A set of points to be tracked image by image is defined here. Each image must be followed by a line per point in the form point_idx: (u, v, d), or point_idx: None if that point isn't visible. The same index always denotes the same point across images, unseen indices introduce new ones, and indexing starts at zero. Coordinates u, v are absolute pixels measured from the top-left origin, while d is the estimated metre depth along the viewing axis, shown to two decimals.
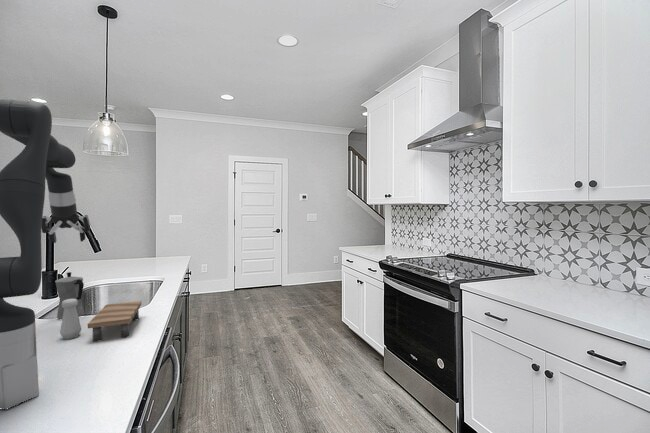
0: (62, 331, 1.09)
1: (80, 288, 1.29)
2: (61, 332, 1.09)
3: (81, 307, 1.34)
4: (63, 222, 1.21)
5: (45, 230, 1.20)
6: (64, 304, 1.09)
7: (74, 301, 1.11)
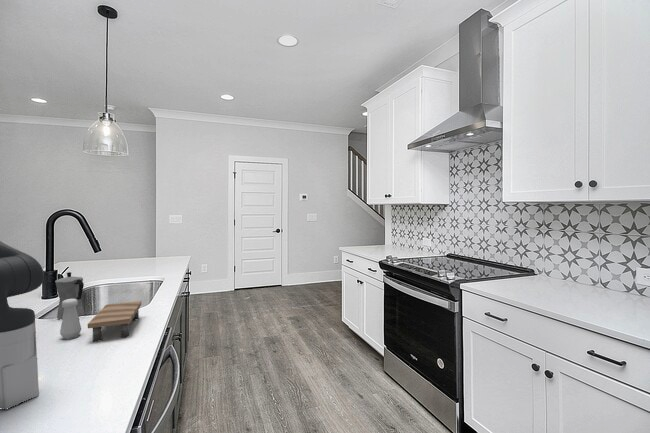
0: (62, 331, 1.09)
1: (80, 288, 1.29)
2: (61, 332, 1.09)
3: (81, 307, 1.34)
4: None
5: None
6: (64, 304, 1.09)
7: (74, 301, 1.11)
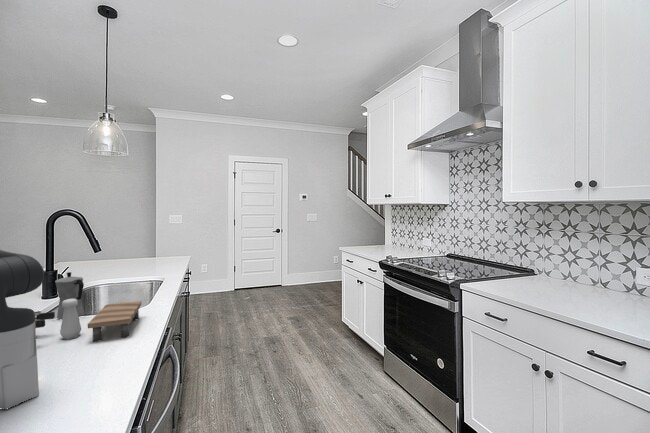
0: (62, 331, 1.09)
1: (80, 288, 1.29)
2: (61, 332, 1.09)
3: (81, 307, 1.34)
4: None
5: None
6: (64, 304, 1.09)
7: (74, 301, 1.11)
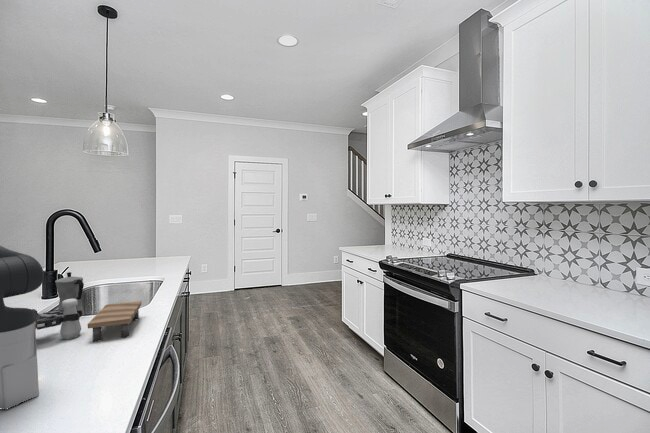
0: (62, 331, 1.09)
1: (80, 288, 1.29)
2: (61, 332, 1.09)
3: (81, 307, 1.34)
4: None
5: None
6: (64, 304, 1.09)
7: (74, 301, 1.11)
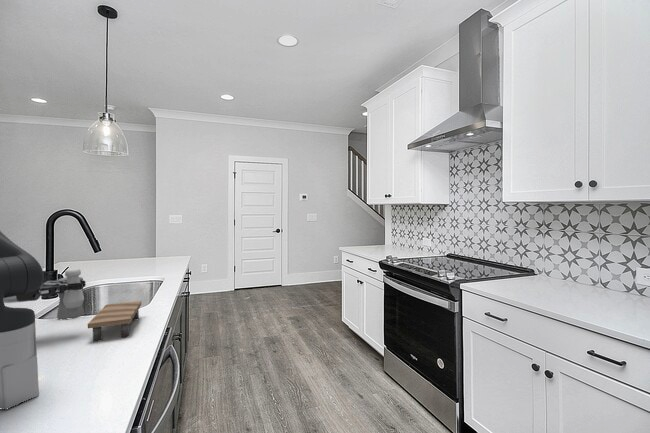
0: (65, 300, 1.09)
1: None
2: (64, 301, 1.09)
3: (81, 307, 1.34)
4: None
5: None
6: (68, 273, 1.09)
7: (77, 270, 1.11)
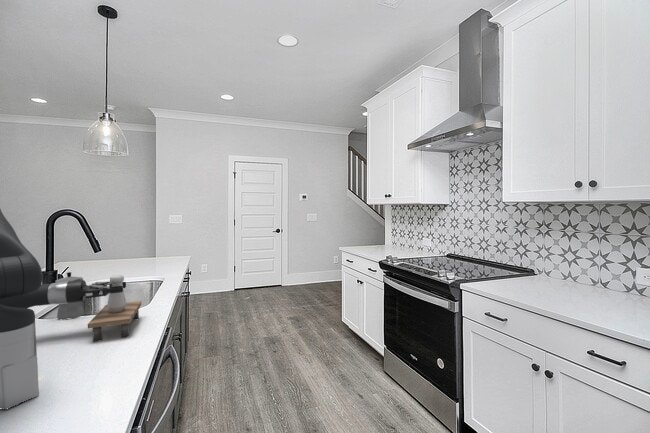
0: (109, 305, 1.16)
1: None
2: (109, 306, 1.16)
3: (81, 307, 1.34)
4: None
5: None
6: (113, 279, 1.16)
7: (121, 277, 1.18)
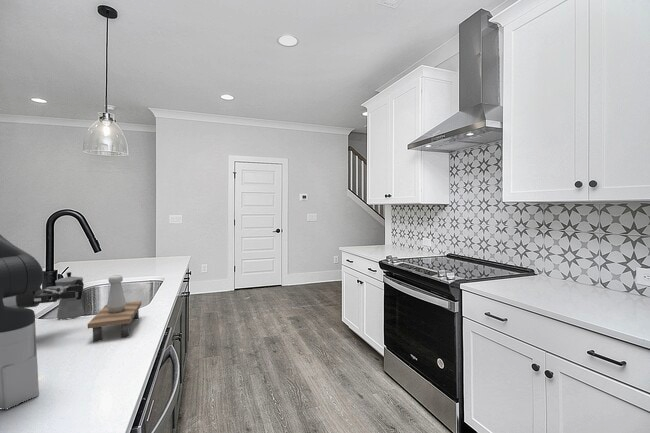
0: (109, 305, 1.16)
1: None
2: (108, 306, 1.16)
3: (81, 307, 1.34)
4: None
5: None
6: (111, 280, 1.16)
7: (120, 277, 1.18)
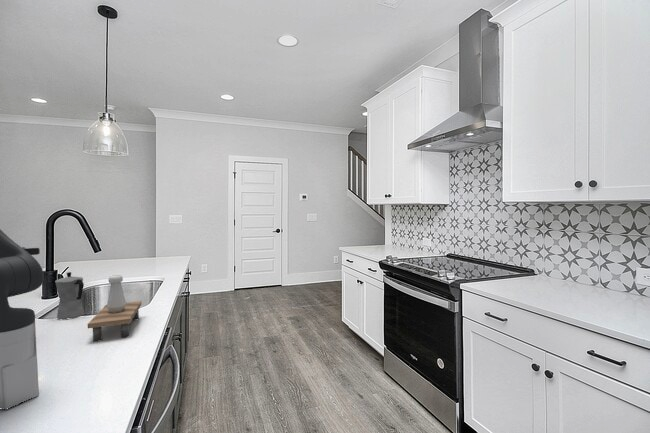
0: (109, 305, 1.16)
1: (80, 288, 1.29)
2: (108, 306, 1.16)
3: (81, 307, 1.34)
4: None
5: None
6: (111, 280, 1.16)
7: (120, 277, 1.18)
